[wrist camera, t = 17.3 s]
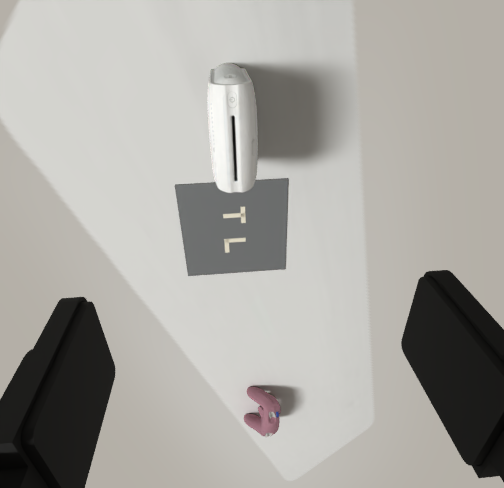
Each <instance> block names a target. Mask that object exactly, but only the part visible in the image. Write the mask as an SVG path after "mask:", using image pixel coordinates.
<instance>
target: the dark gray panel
mask: <svg viewBox="0 0 504 488" xmlns="http://www.w3.org/2000/svg"><path fill="white" fill-rule="evenodd" d="M175 190H176V197H177V204H178V210H179V217H180V224H181V230H182V237H183V244H184V250H185V257H186V264H187V271H188V276H196V275H210V274H224V273H238V272H251V271H265V270H279V269H285V263H286V232H287V200H288V178H284V179H267V180H255V183H254V186H253V187H252V188H251V189H250V190H248V191H246V192H233V193H227V192H224V191H222V190H220V189H219V188H218V187H217V185H216V182H214V183H196V184H178V185H175Z"/></svg>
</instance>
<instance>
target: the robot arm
mask: <svg viewBox="0 0 504 488" xmlns="http://www.w3.org/2000/svg"><path fill="white" fill-rule="evenodd" d="M402 350H403V352H404V354H405V356H406V358H407V360H408V362H409V363H410V365H411V367H412V369H413V371H414V372H415V374H416V376H417V378H418V379H419V381H420V383H421V385H422V387H423V389H424V390H425V392H426V394H427V396H428V398H429V399H430V401H431V403H432V405H433V407H434V408H435V410H436V412H437V414H438V415H439V417H440V419H441V421H442V423H443V424H444V426H445V428H446V430H447V432H448V434H449V435H450V437H451V439H452V441H453V443H454V444H455V446H456V448H457V450H458V452H459V453H460V455H461V457H462V458H463V460H464V461H465V462H466V464H468V465H472V467H473V468H474V470H475V472H476V474H477V475H478V477H479V478H485V477H493V476H500V477H501V478H502V480H503V482H504V330H503V329H502V327H501V326H500V325H499V324H498V323H497V322H496V321H495V320H494V318H492V316H491V315H490V314H489V313H488V312H487V311H486V310H485V309H484V308H483V306H482V305H481V304H480V303H479V302H478V301H477V300H476V299H475V298H474V297H473V295H472V294H471V293H470V292H469V291H468V290H467V289H466V288H465V287H464V286H463V284H462V283H461V282H460V281H459V280H458V279H457V278H456V277H455V276H454V275H453V273H451V272H450V271H448V270H442V271H429V272H426V273H425V275H424V277H421V278H420V279H419V281H418V285H417V289H416V291H415V295H414V299H413V303H412V306H411V309H410V313H409V316H408V320H407V323H406V327H405V330H404V334H403V338H402ZM114 378H115V365H114V362H113V359H112V356H111V353H110V350H109V347H108V344H107V341H106V338H105V336H104V333H103V330H102V327H101V324H100V321H99V318H98V315H97V312H96V309H95V307H94V304H93V303H92V302H87V300H86V299H85V298H84V297H76V298H62V299H61V300H60V301H59V302H58V304H57V306H56V307H55V309H54V311H53V313H52V315H51V317H50V319H49V321H48V323H47V324H46V326H45V328H44V330H43V332H42V334H41V335H40V337H39V339H38V341H37V343H36V345H35V346H34V349H33V350H30V351H29V352H28V353H27V354H26V355H25V357H24V358H23V360H22V362H21V363H20V365H19V367H18V369H17V371H16V373H15V374H14V376H13V378H12V380H11V381H10V383H9V385H8V387H7V389H6V390H5V392H4V394H3V396H2V398H1V399H0V488H85V484H86V480H87V477H88V473H89V470H90V466H91V462H92V459H93V455H94V451H95V448H96V444H97V441H98V436H99V433H100V430H101V426H102V422H103V418H104V415H105V411H106V407H107V404H108V400H109V397H110V393H111V389H112V385H113V382H114Z"/></svg>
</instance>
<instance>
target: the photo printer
mask: <svg viewBox="0 0 504 488" xmlns="http://www.w3.org/2000/svg"><path fill="white" fill-rule="evenodd" d="M207 105H208V126H209V139H210V150H211V160H212V168H213V175H214V179H215V182H216V185H217V187H218V188H219V189H220V190H222V191H224V192H227V193H233V192H246V191H248V190H250V189H251V188H252V187H253V186H254V183H255V179H256V174H257V160H258V126H257V106H256V98H255V91H254V86H253V83H252V80H251V78H250V77H249V75H248V73H247V72H246V70H245V68H240V67H238V66H237V65H235V64H232V63H224V64H221V65H219V66H218V67H216V68H215V69H211V70H210V75H209V83H208V94H207Z"/></svg>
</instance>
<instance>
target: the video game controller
mask: <svg viewBox="0 0 504 488" xmlns="http://www.w3.org/2000/svg"><path fill="white" fill-rule="evenodd" d="M247 394H248V396H249V397H250V398H251V399H252V400H254V401H255V402H257V403H258V404H260V405H261V406H259V407H258V411H259V414H260V416H261V417H259V416H257V415H254V414H246V415H245V416H244V421H245V423H246V424H247V425H248V426H250V427H251V428H253V429H254V430H256V431H257V432H259V433H260V434H261V435H262V436H266V438H267V436H272V435H273V434H275V433H276V432H277V430H278V427H279V414H280V413H281V409H280V405H279V403H278V401H277V399H276V398H275V397H274V396H272V395H270V394H268V393H267V392H265V391H264V390H262V389H260V388H257V387H249V388H248V389H247Z"/></svg>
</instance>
